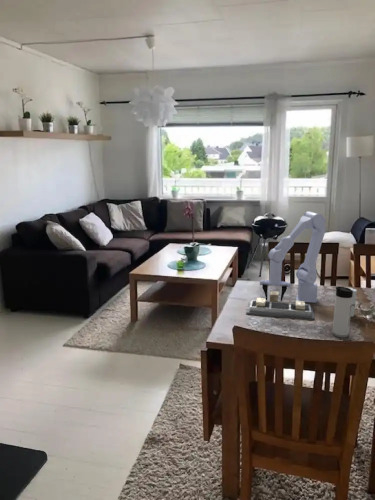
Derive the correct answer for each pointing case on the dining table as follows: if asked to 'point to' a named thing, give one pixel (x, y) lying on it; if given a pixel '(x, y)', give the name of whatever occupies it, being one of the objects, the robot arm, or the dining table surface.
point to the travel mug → (342, 312)
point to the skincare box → (353, 301)
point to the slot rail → (280, 309)
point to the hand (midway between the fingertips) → (273, 299)
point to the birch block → (274, 296)
